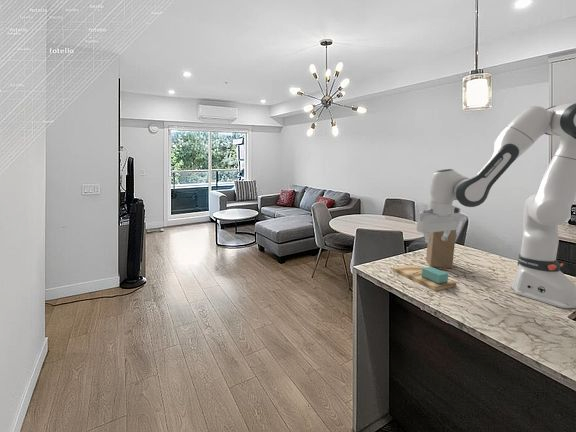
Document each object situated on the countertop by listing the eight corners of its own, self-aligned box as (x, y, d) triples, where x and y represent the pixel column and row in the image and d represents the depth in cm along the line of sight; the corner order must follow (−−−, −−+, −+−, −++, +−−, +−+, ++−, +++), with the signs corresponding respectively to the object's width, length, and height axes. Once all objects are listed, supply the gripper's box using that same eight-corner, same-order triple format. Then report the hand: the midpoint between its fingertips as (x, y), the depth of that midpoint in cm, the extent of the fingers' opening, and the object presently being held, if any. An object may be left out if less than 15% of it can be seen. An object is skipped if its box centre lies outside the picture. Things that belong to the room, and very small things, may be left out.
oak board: (456, 286, 130) (456, 282, 130) (434, 290, 126) (435, 287, 125) (411, 267, 153) (412, 264, 153) (392, 270, 149) (392, 267, 148)
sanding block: (447, 282, 130) (448, 273, 129) (438, 284, 128) (439, 275, 127) (430, 275, 138) (431, 266, 137) (421, 276, 136) (422, 268, 136)
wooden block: (452, 268, 151) (456, 228, 148) (430, 267, 153) (433, 227, 150) (446, 262, 161) (450, 224, 157) (425, 260, 163) (429, 223, 159)
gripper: (426, 211, 121) (423, 245, 124) (463, 208, 129) (459, 241, 132) (414, 209, 127) (411, 241, 129) (450, 206, 135) (446, 237, 137)
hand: (436, 241), depth 131 cm, fingers open, 8 cm apart
